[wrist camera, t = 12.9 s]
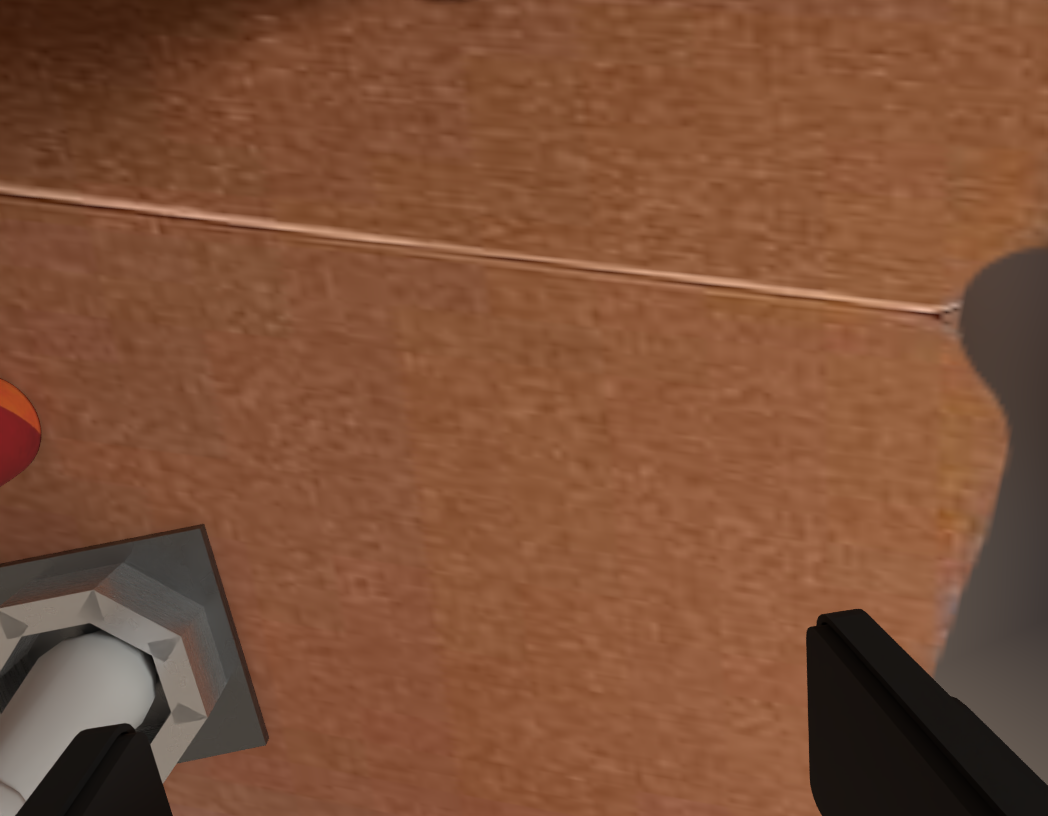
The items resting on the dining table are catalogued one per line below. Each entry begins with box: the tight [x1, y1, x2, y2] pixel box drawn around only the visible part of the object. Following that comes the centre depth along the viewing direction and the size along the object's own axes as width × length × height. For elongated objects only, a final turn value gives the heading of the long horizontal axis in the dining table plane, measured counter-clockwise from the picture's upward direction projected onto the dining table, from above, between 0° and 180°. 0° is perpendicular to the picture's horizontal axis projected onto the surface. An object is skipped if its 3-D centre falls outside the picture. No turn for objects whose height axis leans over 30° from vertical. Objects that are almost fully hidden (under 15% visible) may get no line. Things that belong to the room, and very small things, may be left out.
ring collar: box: [0, 524, 269, 783], centre depth 37 cm, size 13×13×4 cm
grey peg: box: [0, 630, 156, 816], centre depth 32 cm, size 6×6×13 cm
